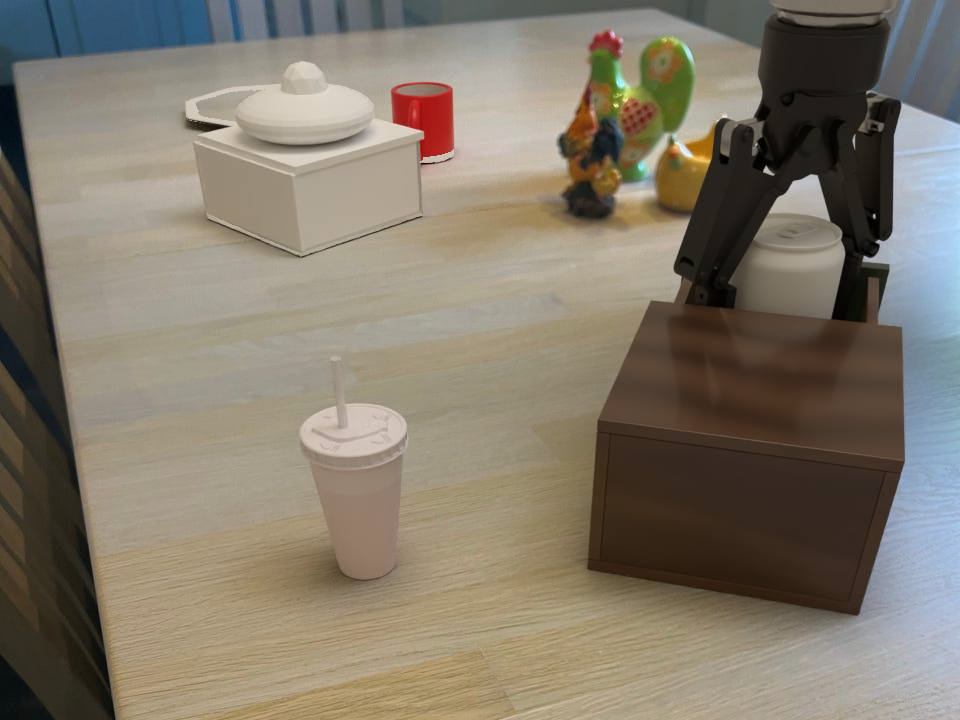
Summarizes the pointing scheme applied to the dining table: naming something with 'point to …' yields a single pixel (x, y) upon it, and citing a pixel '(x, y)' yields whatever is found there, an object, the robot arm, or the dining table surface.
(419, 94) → the mug
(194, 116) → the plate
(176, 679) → the dining table surface
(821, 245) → the beverage can
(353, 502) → the smoothie
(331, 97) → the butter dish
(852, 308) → the drawer
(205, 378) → the dining table surface
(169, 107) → the dining table surface
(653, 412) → the cabinet
